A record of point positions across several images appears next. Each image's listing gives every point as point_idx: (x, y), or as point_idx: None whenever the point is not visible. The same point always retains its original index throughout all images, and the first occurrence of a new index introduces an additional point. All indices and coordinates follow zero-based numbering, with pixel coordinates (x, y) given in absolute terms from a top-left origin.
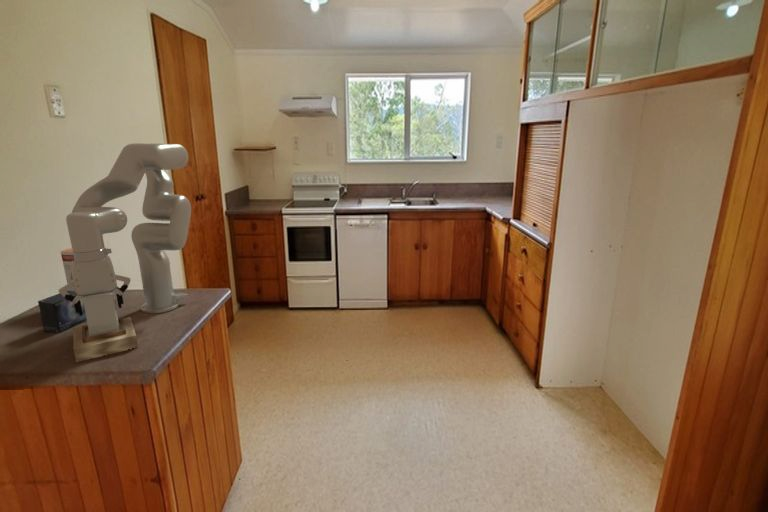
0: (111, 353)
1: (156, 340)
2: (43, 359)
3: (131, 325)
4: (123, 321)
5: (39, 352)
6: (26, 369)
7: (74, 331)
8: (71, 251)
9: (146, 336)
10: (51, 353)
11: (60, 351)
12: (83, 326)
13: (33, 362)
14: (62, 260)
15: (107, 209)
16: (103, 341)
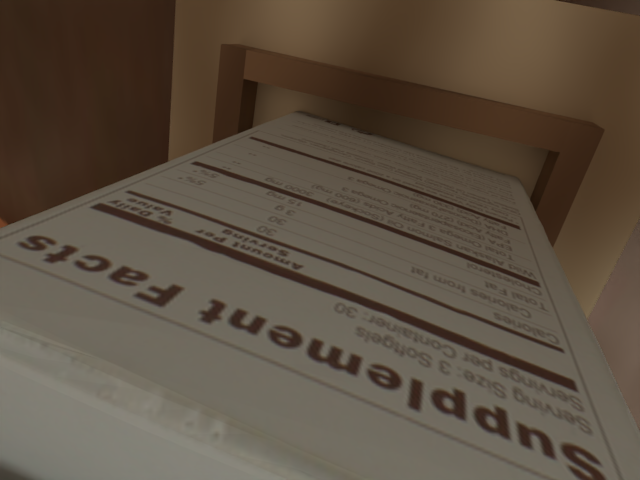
0: None
1: (636, 411)
2: (72, 142)
3: (586, 292)
4: (552, 244)
5: (43, 9)
6: (19, 201)
7: (180, 39)
8: None
9: (633, 304)
10: (102, 86)
11: (143, 97)
12: (231, 70)
13: (34, 141)
14: None
15: None
16: None
